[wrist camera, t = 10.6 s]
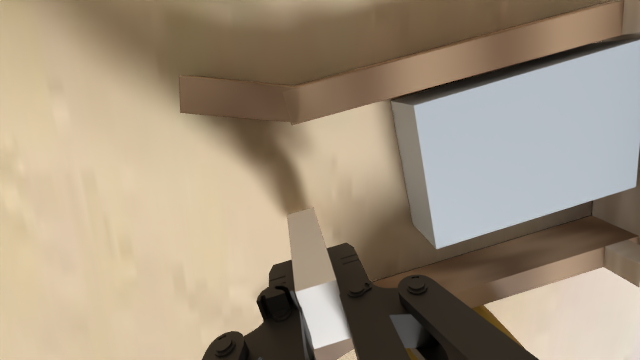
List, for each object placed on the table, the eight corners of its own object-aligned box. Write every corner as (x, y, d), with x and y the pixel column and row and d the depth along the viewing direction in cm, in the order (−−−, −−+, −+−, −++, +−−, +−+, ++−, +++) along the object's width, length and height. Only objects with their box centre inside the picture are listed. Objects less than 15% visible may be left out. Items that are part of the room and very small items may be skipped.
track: (287, 346, 22) (291, 421, 17) (186, 78, 16) (148, 79, 11) (608, 247, 23) (694, 291, 18) (631, -39, 17) (770, -83, 12)
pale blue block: (410, 221, 20) (436, 249, 17) (388, 100, 18) (413, 105, 15) (579, 169, 21) (635, 186, 18) (582, 44, 18) (649, 37, 15)
